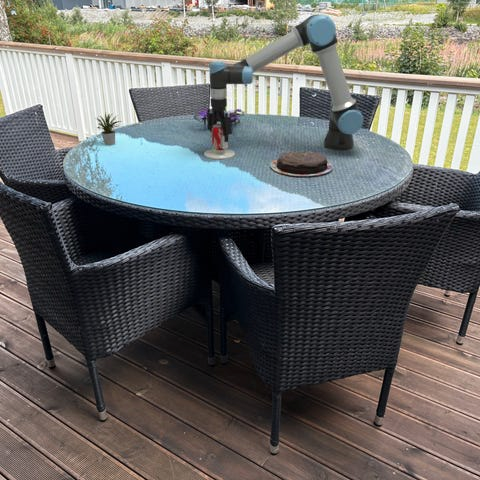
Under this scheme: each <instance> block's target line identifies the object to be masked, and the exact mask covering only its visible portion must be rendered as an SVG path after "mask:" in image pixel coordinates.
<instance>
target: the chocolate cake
mask: <svg viewBox="0 0 480 480" xmlns="http://www.w3.org/2000/svg"><path fill="white" fill-rule="evenodd" d="M269 167H270V168H271V169H272V170H273V171H274V172H276V173H277V174H280V175H287V176H290V177H292V178H297V177H306V178H314V177H322V176H324V175H327V174H328V173H331V171H332V170H333V164H332V163H331V162H330V161H328V159H327V157H326V155H322V154H320V153H318V152H317V151H316V152H315V151H289V152H287V151H286V152H284V153H282V154H280V155H279V157H278V158H277V159H275V160H272V161H271V162H270V165H269Z"/></svg>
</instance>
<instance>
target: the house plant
mask: <svg viewBox="0 0 480 480" xmlns="http://www.w3.org/2000/svg"><path fill="white" fill-rule="evenodd" d="M112 116H113V113H112V114H111V115H110V113H108V114H107V112H105V113H104V118H103V116H101V115H100V116H96V117H95V120H97V121H98V122H99V123H98V126H97V127H96V129H98V130H103V131H102V132H101V136H102V139H103V143H104V145H105V146H114V145H115V144H116V131H115V130H114V129H115V128H119V127H120V126H121V125H120V124H118V123H120V122H122V121H121V120H117V119H118V116H119V115H118V114H117V115H115V116H114V117H113V118H112V120H111V117H112ZM99 117H100V118H101V119H100V118H99ZM115 120H116V121H115ZM116 124H118V125H116Z"/></svg>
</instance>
